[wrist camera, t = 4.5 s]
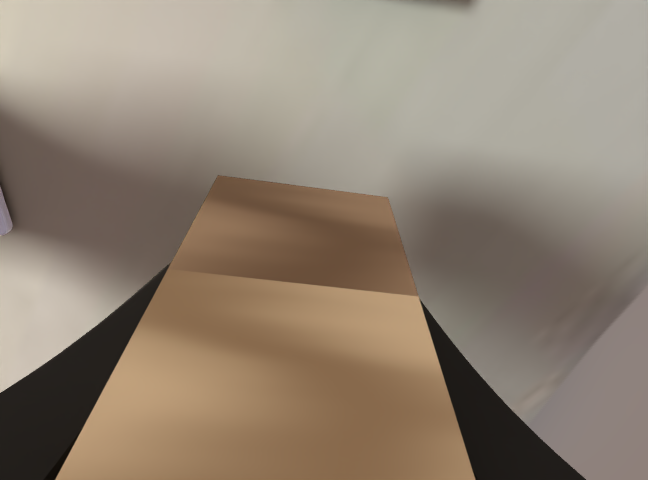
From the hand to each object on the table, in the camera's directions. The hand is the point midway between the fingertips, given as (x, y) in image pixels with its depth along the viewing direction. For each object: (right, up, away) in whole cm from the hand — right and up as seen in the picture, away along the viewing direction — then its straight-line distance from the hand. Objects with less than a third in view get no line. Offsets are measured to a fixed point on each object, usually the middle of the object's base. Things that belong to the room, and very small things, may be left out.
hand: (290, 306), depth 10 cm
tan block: (0, +1, +2) cm, 2 cm away
